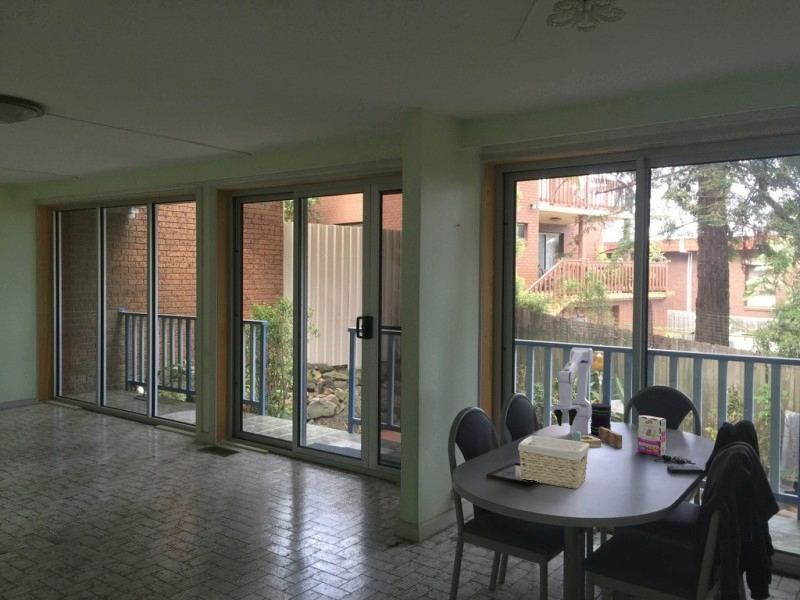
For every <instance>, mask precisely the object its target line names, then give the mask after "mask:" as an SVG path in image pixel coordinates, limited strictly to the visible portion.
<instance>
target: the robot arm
mask: <svg viewBox="0 0 800 600" xmlns="http://www.w3.org/2000/svg"><path fill="white" fill-rule="evenodd" d="M570 358H571V359H570V361H568V362H566V364H565V365H564V367H563V369H562V370H560V371H558V373H557V383H558V384H557V385H558V387H559V391H558V392H559V393H558V394H559V395H558V396H559V397H558V398H559V399H558V400H559V402H558V403H559V404H558V405H556V404H555V405H550V406H549V410H550V411H551V412H553V413H554V415H555V418H556V421H557V425H558V426H559V427H562V425H563V424H562V423H563V422H562V420H563V411H567V413H568V425H569V432H568V433H567V434H568V435H570V436H573V435H574V432H575V431H577V432H581V436H589V435H590V434H589V419H590V418H591V415H592V405H591V404H592V402H590V401H589V400H588V399H587V395H588V394H587V393H588V383H589V372H590V371H589V370H590V367H591V366H592V365H593V363H594V351H593V349H592V348H590V347H589V348H588V347H587V348H586V347H576V346H575V347H574V346H573V347H571V349H570ZM577 371H578V375H577V388H576V396H575V398H574V399H573V383H574V382H575V376H576V374H577Z"/></svg>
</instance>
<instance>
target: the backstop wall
mask: <svg viewBox="0 0 800 600" xmlns="http://www.w3.org/2000/svg"><path fill="white" fill-rule="evenodd" d="M598 439H600V440H602V441H601V442H603V443H606V444H608V445H610V444H611V446H612V445H613V446H612V447H614V446H615V447H614V448H616V447H617V448H616V449H622V448H623V435H622V434H620V433H618V432H616V431H613V430H612V429H611V430H609V429H606V428H604V427H599V436H598Z"/></svg>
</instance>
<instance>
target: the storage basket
mask: <svg viewBox="0 0 800 600" xmlns="http://www.w3.org/2000/svg"><path fill="white" fill-rule="evenodd" d="M517 447H518V448H517V450H518V451H519V461H520V463H519V464H520V465H519V466H520V479H521V478H524V479H532V480H535V481H537V482H536V483H538V482H539V484H546V485H551V486H554V485H555V486H554V487H561V488H562V487H564V488H567V487H568V489H578V488H579V487H581V486H582V484H583V483H584V482H585V480H586V474H587V465H588V456H589V455H588V453H589V451H590V447H589V444H588V443H583V442H578V441H571V439H562V438H555V437H554V438H553V437H549V436H539V435H531V434H530V435H529V436H528V437H526V438H524V439H523V440H521V442H519V443H518V446H517Z"/></svg>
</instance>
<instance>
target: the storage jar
mask: <svg viewBox="0 0 800 600" xmlns="http://www.w3.org/2000/svg"><path fill="white" fill-rule="evenodd" d="M591 405H592V415H591V417H590V418H591V420H590V428H589V429H590V435H591V434H592V435H591V436H593V435H595V436H594V437H599V427H604V428H606V429H609V430H611V431H612V426H611V417H612V416H611V415H612V405H611V404H607V403H599V402H598V403H597V402H596V403H595V402H594V403H591Z"/></svg>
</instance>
